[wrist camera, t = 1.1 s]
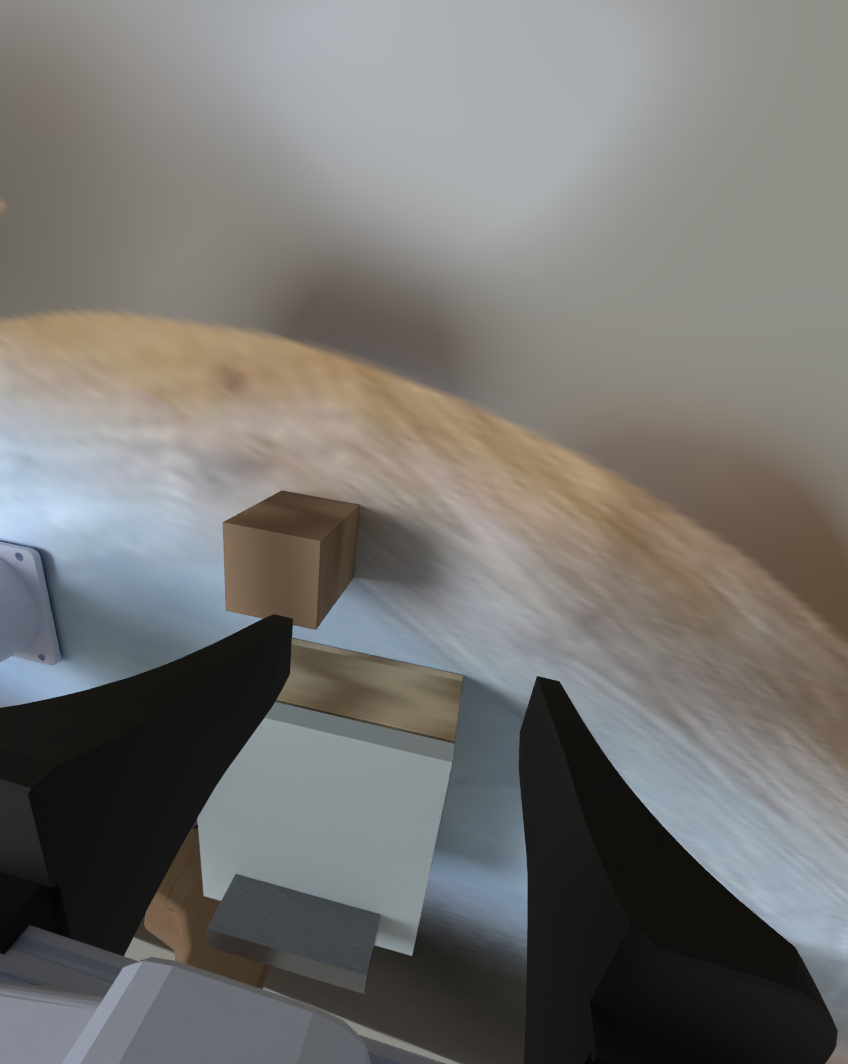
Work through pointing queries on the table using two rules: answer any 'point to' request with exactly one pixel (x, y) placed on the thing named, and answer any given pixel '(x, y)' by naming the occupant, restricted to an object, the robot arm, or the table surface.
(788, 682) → the table surface
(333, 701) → the brown piece
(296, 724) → the toolbox lid
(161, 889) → the wooden block
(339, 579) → the small brown block
